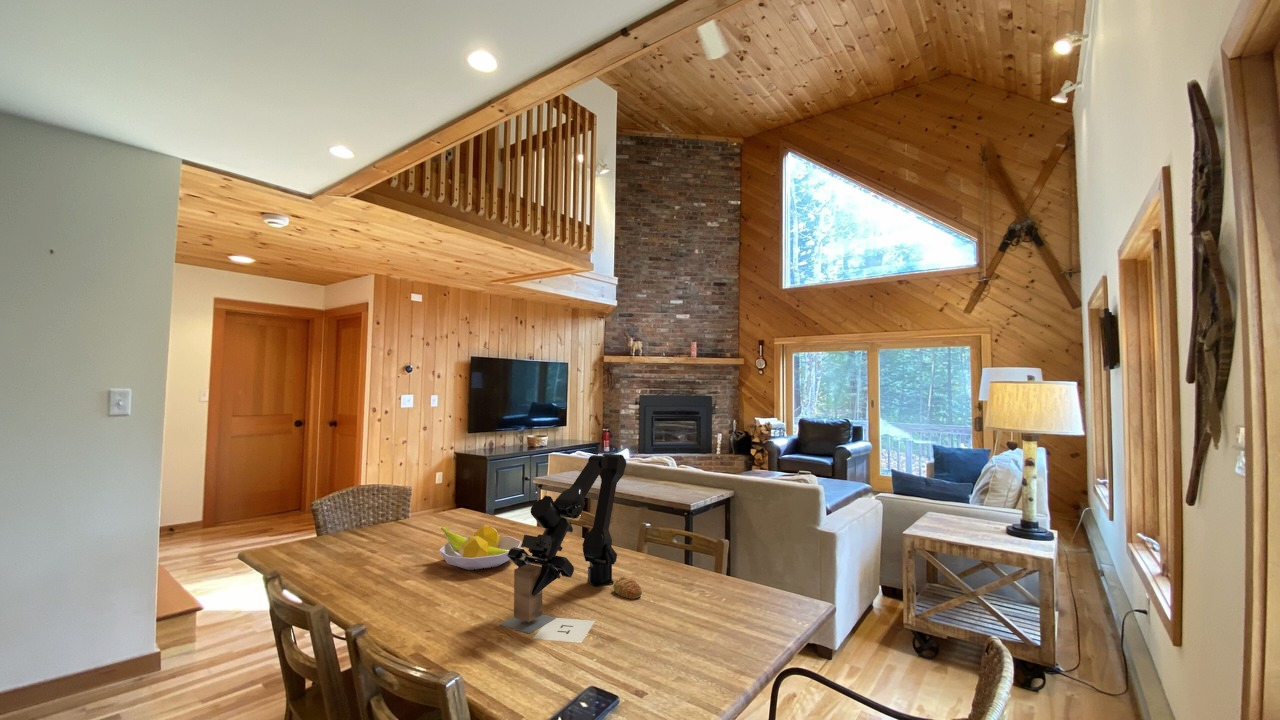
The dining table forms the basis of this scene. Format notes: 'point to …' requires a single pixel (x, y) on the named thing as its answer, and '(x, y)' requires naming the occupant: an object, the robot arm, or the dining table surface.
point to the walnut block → (527, 593)
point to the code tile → (565, 630)
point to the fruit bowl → (478, 549)
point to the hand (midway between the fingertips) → (524, 593)
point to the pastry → (627, 588)
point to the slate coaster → (527, 623)
